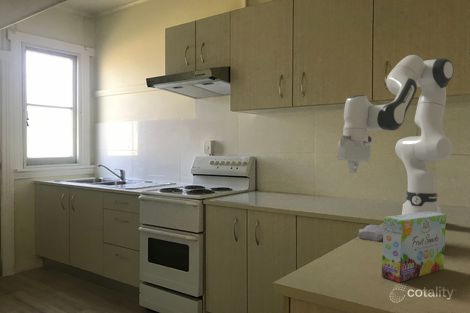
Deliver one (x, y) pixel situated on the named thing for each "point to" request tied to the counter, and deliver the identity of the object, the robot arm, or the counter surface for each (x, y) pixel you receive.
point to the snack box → (413, 245)
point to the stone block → (372, 233)
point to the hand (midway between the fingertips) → (352, 173)
